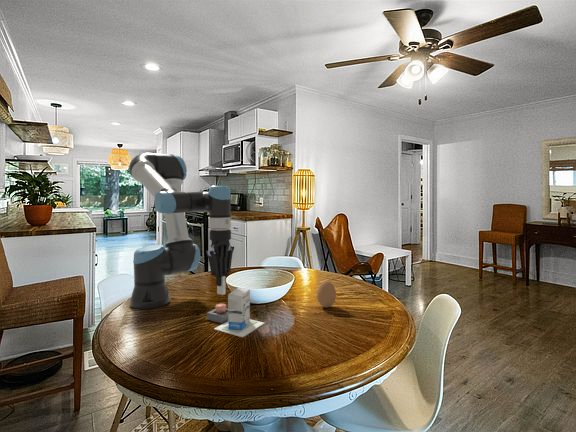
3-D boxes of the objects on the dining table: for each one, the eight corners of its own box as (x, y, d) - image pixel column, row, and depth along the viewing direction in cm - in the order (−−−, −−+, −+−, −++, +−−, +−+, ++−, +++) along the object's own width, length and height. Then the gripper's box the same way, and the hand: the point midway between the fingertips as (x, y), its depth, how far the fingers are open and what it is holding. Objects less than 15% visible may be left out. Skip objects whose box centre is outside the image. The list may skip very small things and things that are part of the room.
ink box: (241, 330, 108) (241, 295, 108) (227, 329, 110) (227, 294, 109) (250, 320, 117) (250, 288, 116) (237, 319, 118) (237, 287, 117)
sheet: (214, 329, 111) (214, 327, 111) (237, 317, 122) (237, 315, 122) (242, 337, 105) (242, 335, 105) (264, 323, 116) (264, 322, 116)
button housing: (207, 319, 119) (207, 312, 119) (220, 313, 125) (219, 306, 125) (222, 323, 116) (222, 316, 116) (234, 316, 122) (234, 310, 122)
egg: (322, 311, 128) (322, 284, 127) (313, 305, 135) (314, 279, 134) (339, 309, 130) (339, 282, 130) (330, 303, 137) (330, 277, 137)
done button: (213, 312, 120) (213, 306, 119) (220, 309, 123) (220, 302, 123) (221, 314, 118) (221, 307, 118) (228, 311, 121) (228, 304, 121)
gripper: (216, 231, 110) (217, 300, 112) (239, 227, 122) (240, 290, 123) (199, 230, 114) (200, 297, 116) (224, 227, 125) (225, 287, 127)
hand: (221, 293), depth 119 cm, fingers closed
